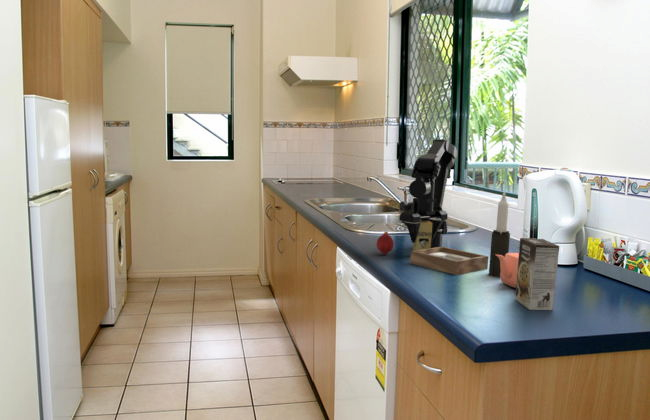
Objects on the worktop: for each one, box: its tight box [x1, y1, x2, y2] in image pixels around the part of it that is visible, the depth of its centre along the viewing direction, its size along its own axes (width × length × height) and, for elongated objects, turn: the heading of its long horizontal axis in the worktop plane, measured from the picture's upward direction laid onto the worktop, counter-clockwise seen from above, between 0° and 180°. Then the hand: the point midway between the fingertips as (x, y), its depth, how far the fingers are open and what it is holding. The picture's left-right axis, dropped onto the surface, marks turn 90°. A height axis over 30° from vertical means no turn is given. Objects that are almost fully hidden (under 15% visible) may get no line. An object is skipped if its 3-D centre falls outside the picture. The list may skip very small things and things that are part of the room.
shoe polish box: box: [412, 219, 432, 251], centre depth 207 cm, size 5×5×12 cm
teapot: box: [496, 252, 519, 289], centre depth 170 cm, size 12×18×10 cm, turn 107°
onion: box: [376, 231, 395, 255], centre depth 208 cm, size 6×6×8 cm
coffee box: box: [514, 237, 560, 311], centre depth 152 cm, size 9×6×16 cm
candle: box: [488, 192, 511, 278], centre depth 183 cm, size 5×5×25 cm
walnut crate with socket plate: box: [409, 246, 489, 276], centre depth 194 cm, size 16×18×4 cm
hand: (422, 241), depth 207 cm, fingers open, 9 cm apart
